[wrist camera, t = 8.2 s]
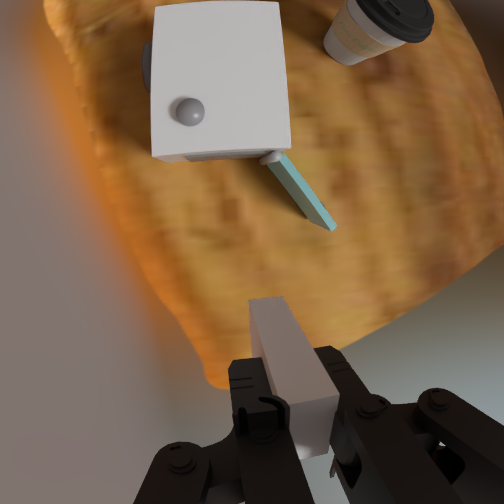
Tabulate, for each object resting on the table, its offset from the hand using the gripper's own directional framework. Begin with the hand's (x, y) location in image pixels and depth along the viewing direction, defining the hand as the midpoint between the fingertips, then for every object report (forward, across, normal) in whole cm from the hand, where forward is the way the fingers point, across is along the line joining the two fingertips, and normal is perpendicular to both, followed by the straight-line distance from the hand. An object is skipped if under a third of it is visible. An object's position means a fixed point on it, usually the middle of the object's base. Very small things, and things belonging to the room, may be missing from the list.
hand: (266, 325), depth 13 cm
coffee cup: (+23, +16, +25) cm, 37 cm away
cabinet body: (+22, -1, +17) cm, 28 cm away
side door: (+22, +7, +5) cm, 24 cm away
